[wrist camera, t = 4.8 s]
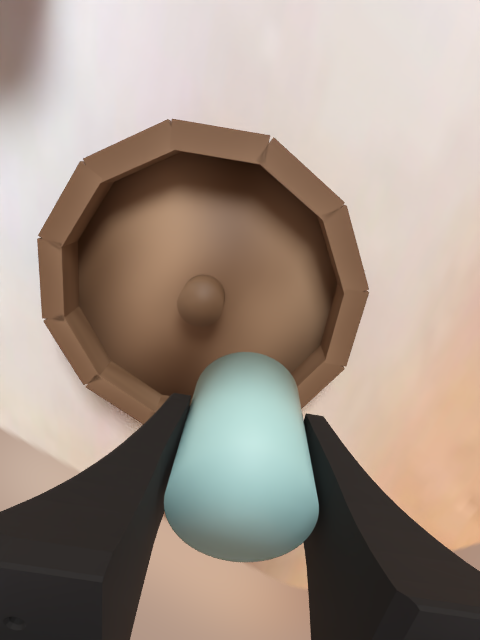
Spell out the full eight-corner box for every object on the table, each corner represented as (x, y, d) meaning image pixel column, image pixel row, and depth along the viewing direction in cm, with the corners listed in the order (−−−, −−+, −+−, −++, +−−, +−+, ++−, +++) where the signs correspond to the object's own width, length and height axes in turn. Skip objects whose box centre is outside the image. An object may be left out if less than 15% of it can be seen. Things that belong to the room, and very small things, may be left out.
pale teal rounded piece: (192, 433, 15) (162, 553, 10) (197, 346, 13) (165, 440, 9) (290, 444, 15) (304, 569, 10) (306, 358, 13) (332, 458, 9)
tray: (71, 384, 21) (48, 411, 18) (63, 105, 15) (28, 94, 13) (312, 422, 21) (319, 453, 19) (387, 160, 16) (410, 159, 13)
